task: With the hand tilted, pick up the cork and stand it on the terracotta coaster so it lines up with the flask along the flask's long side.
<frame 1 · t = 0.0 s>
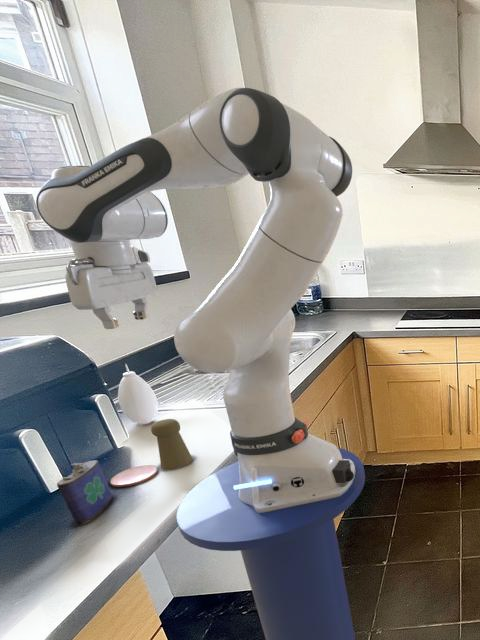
hand: (127, 323, 89), 33 cm above the table, tool pointing down, fingers open, 8 cm apart
flask: (95, 510, 82), on the table
coaster: (134, 476, 93), on the table
cork: (177, 463, 99), on the table
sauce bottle: (145, 423, 119), on the table
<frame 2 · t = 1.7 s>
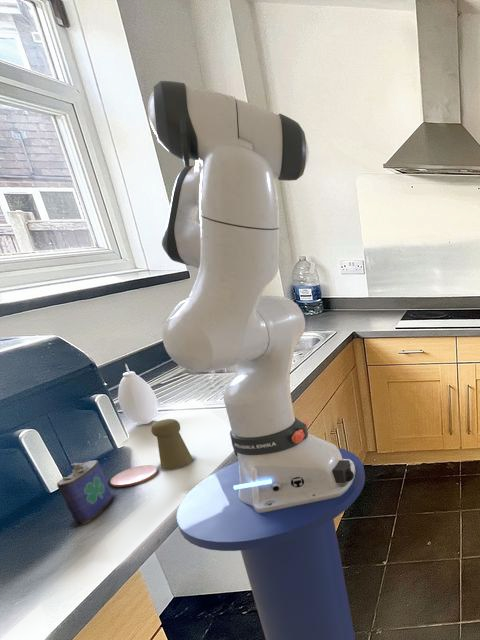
hand: (194, 350, 100), 25 cm above the table, tool tilted 40°, fingers open, 8 cm apart
nothing on the table moved.
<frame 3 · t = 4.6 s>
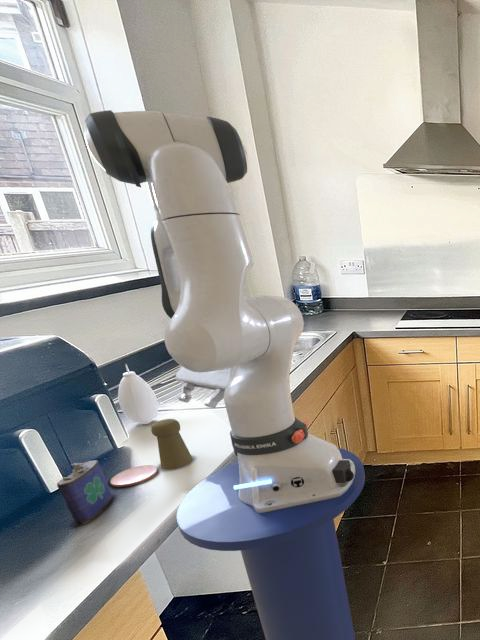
hand: (195, 404, 101), 12 cm above the table, tool tilted 45°, fingers open, 8 cm apart
nothing on the table moved.
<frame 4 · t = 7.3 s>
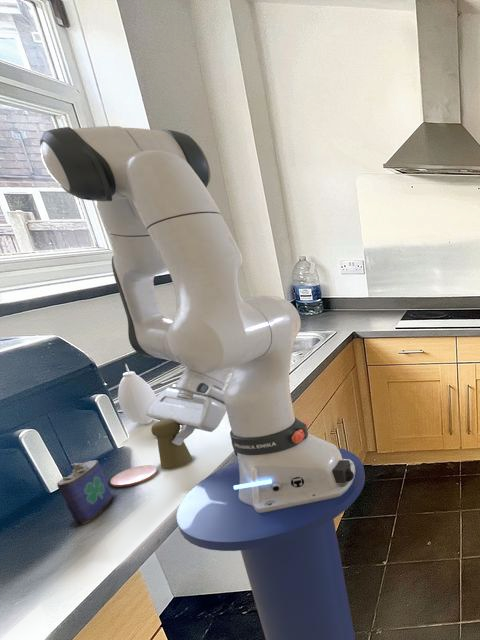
hand: (167, 442, 96), 6 cm above the table, tool tilted 45°, fingers closed on cork, 4 cm apart
cork: (177, 463, 99), on the table, touching gripper
everything else where it was.
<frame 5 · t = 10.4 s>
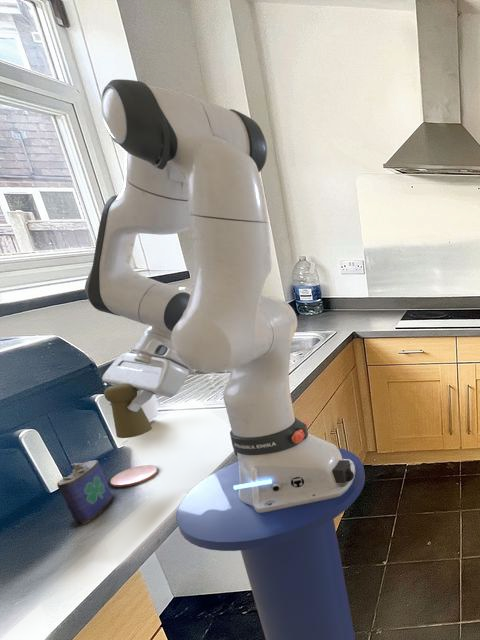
hand: (122, 408, 89), 16 cm above the table, tool tilted 45°, fingers closed on cork, 4 cm apart
cork: (135, 432, 92), point 10 cm above the table, touching gripper
everything else where it was.
when the fingers open (6 cm above the table, at t = 13.7 s): cork stays where it is, resting on coaster.
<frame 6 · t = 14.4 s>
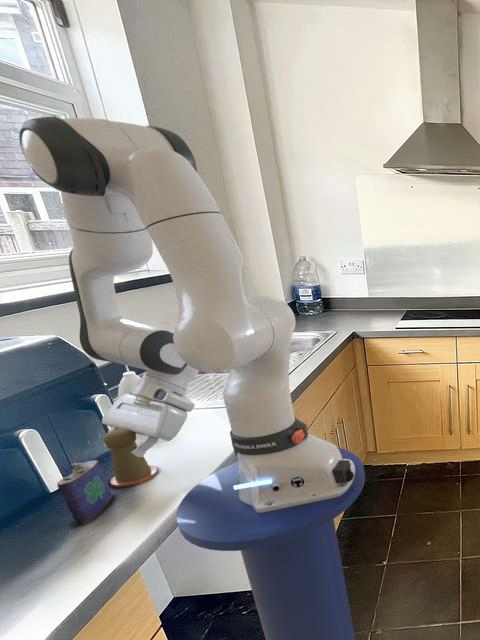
hand: (122, 452, 91), 7 cm above the table, tool tilted 45°, fingers open, 8 cm apart
cork: (134, 475, 93), resting on coaster
everything else where it was.
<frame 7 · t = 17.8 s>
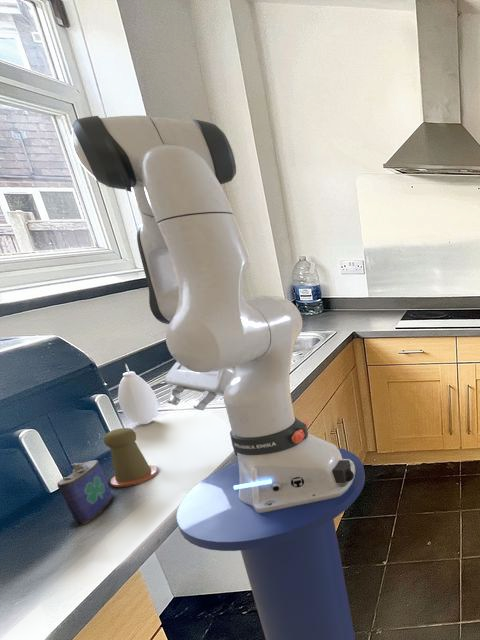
hand: (184, 406, 101), 12 cm above the table, tool tilted 45°, fingers open, 8 cm apart
nothing on the table moved.
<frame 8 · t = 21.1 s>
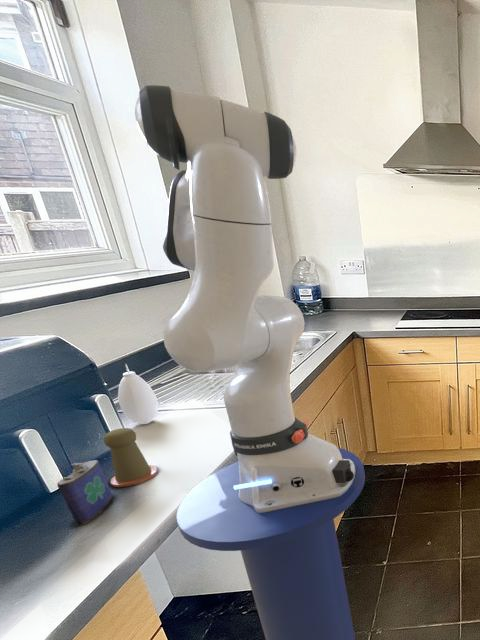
hand: (190, 352, 101), 24 cm above the table, tool tilted 45°, fingers open, 8 cm apart
nothing on the table moved.
at the end: cork 0.1 cm from the target spot on the table beside the flask, point 0.6 cm above the table; cork tilted 0°; flask moved 0.2 cm from its start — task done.
